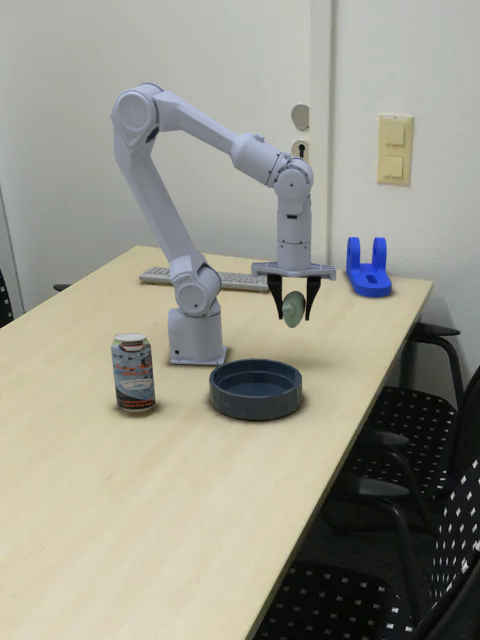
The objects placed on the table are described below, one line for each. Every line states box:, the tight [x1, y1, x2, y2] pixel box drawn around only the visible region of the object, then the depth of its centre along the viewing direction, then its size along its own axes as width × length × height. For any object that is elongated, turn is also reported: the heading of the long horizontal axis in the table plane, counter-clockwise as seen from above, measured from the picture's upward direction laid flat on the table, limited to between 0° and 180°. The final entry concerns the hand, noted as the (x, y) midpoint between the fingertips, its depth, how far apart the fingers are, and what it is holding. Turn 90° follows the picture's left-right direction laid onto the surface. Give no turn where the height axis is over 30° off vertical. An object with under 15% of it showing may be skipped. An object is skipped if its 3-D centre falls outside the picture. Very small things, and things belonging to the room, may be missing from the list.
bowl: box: [208, 357, 303, 421], centre depth 130 cm, size 15×15×4 cm
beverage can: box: [110, 332, 157, 413], centre depth 123 cm, size 6×7×12 cm
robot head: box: [282, 290, 306, 329], centre depth 137 cm, size 8×4×7 cm, turn 173°
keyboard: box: [138, 266, 269, 294], centre depth 177 cm, size 29×10×2 cm, turn 86°
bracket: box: [345, 236, 392, 298], centre depth 179 cm, size 18×8×9 cm, turn 9°
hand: (293, 318), depth 138 cm, fingers closed on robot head, 4 cm apart
